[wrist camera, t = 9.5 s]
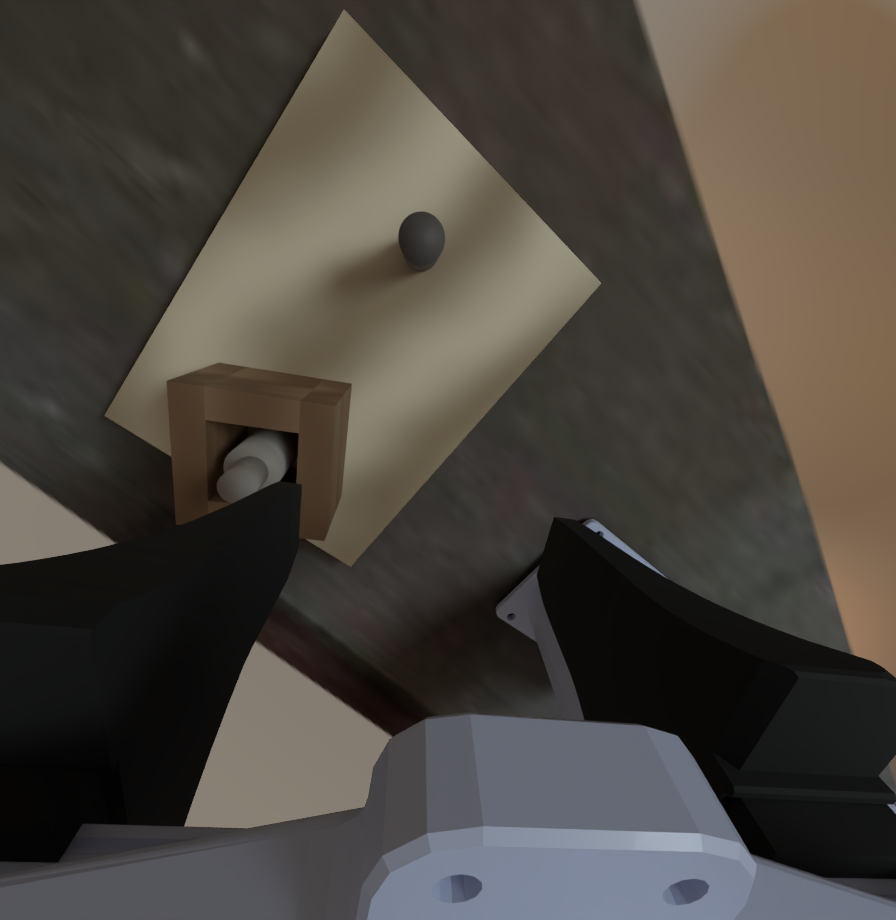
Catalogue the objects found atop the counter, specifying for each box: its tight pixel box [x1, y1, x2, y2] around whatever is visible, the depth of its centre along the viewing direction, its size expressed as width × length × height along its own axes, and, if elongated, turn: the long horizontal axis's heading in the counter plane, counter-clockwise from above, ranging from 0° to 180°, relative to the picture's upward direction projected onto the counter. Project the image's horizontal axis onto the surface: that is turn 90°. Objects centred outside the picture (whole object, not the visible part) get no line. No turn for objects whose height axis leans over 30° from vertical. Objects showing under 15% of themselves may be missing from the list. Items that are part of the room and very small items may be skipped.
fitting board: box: [104, 10, 601, 567], centre depth 16 cm, size 13×18×6 cm
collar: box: [166, 363, 352, 541], centre depth 17 cm, size 6×6×4 cm
